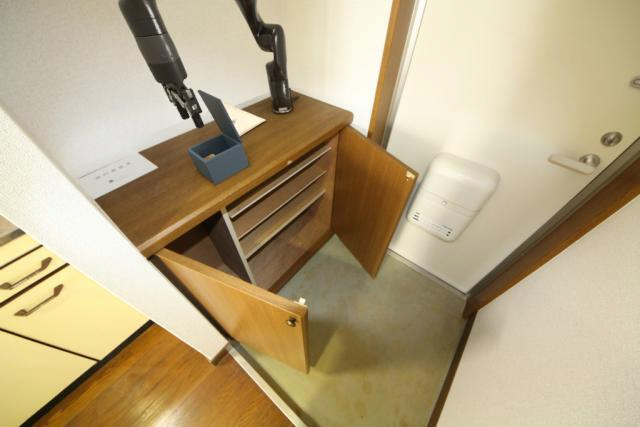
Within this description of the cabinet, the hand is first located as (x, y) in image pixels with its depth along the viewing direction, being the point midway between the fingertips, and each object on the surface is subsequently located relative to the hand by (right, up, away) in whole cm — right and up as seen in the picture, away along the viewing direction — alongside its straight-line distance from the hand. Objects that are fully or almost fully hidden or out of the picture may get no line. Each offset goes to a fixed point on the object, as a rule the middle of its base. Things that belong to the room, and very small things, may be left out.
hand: (193, 122), depth 65 cm
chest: (+2, -10, +15) cm, 18 cm away
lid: (+5, +4, +5) cm, 8 cm away
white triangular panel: (+3, +11, +34) cm, 36 cm away
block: (0, -11, +13) cm, 17 cm away
